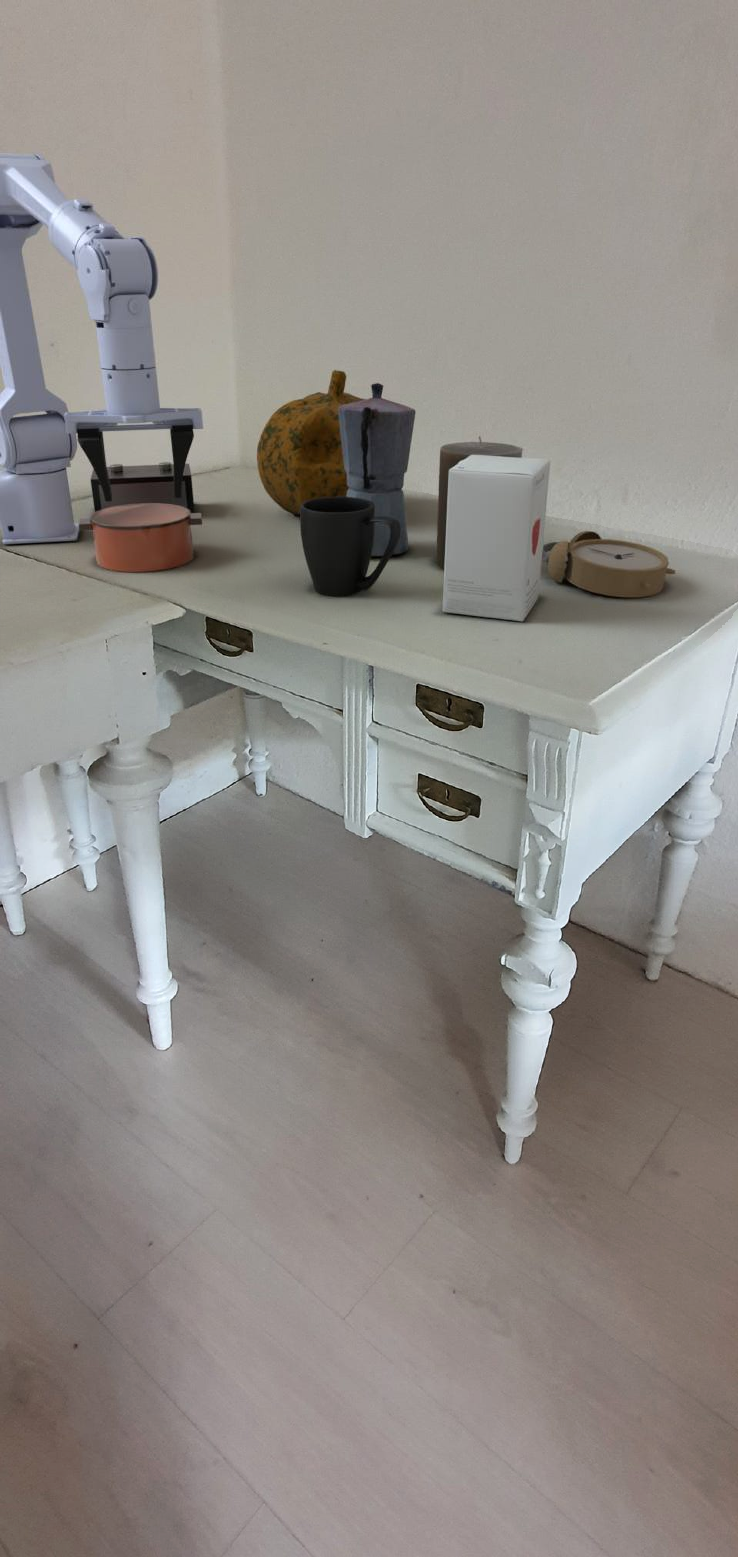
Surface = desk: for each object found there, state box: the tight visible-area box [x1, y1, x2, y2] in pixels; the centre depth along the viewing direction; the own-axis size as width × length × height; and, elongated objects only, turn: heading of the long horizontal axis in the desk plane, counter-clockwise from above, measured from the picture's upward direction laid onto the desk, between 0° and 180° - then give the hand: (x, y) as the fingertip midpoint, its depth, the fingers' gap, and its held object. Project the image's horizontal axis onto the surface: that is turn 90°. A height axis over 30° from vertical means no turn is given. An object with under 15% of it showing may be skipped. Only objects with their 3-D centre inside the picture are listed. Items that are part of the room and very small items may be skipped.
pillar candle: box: [436, 435, 524, 569], centre depth 116 cm, size 10×10×15 cm
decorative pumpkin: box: [256, 369, 367, 516], centre depth 138 cm, size 20×21×20 cm
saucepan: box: [78, 503, 203, 573], centre depth 121 cm, size 15×12×6 cm
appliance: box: [90, 461, 196, 513], centre depth 142 cm, size 14×9×7 cm, turn 101°
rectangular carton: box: [442, 455, 551, 622], centre depth 101 cm, size 9×9×15 cm
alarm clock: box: [542, 530, 676, 598], centre depth 112 cm, size 11×5×15 cm
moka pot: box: [338, 382, 416, 557], centre depth 119 cm, size 10×15×20 cm, turn 174°
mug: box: [299, 497, 400, 597], centre depth 107 cm, size 8×12×10 cm
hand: (143, 497), depth 109 cm, fingers open, 7 cm apart
